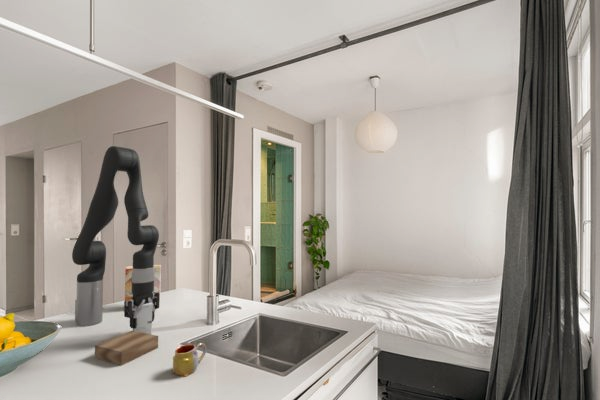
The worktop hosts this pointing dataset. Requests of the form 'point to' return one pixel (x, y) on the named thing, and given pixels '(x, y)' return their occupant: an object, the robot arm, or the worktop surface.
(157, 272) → the coffeecake box
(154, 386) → the worktop surface
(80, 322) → the robot arm
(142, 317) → the skincare box
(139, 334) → the base
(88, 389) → the worktop surface
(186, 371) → the mug
